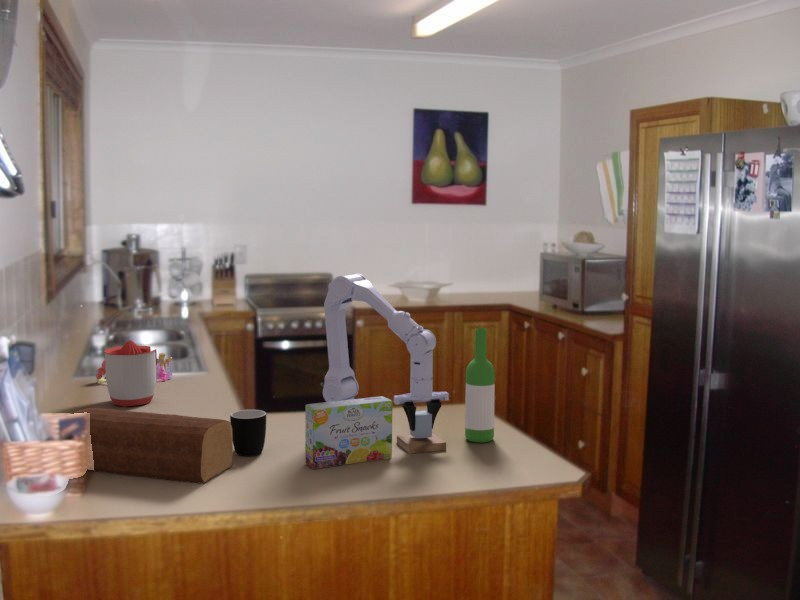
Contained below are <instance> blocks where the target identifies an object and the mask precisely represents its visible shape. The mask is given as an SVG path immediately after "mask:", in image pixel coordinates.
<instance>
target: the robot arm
mask: <svg viewBox="0 0 800 600" xmlns="http://www.w3.org/2000/svg"><path fill="white" fill-rule="evenodd" d="M372 283H373V282H371V281H370V280H369V279H367V278H366V277H365V276H364V275H363V274H361V273H357V272H356V273H352V274H347V275H338V276H336V277H335V278H333V279H332V280H331V281H330V282H329V283H328V285H327V286H328V291H327V295H326V297H325V300H324V303H323V309H324V310H323V311H324V322H325V331H326V343H327V344H326V346H327V356H328V370H327V373H326V375H324V385H323V387H322V397H323V399H324V401H325V402H334V401H343V400H352V399H355V397H356V396H357V395H358V393H359V389H360V388H359V387H360V386H359V383H358V381H357V380H356V377H355V371H354V370H353V368H351V366H350V358H349V357H350V356H349V348H348V347H349V346H348V334H347V333H348V332H347V322H346V311H345V310H346V309H347V308H348V306H350V304H351V303H353V301H355V302H356V301H357V302H365V303H366V304H367V305H368V306H370V307H371V308H373V310H375V311H376V312H377V313H378V314H379V315H380V316H382V317H383V318H384V319H385V320H386V321H387V327H388V328H389V329H390V330H391V331H392V332H393V333H394V334H395V335H396V336H397V337H399V339H400V340H401V341H403V343H405V345H406V350H407V351H408V353H409V354H410V378H409V379H410V383H409V384H410V385H409V386H410V387H409V388H410V393H403V394H399V395H398V394H397V395H393V404H395V405H397V406H398V405H400V404H401V407H402V408H403V411H404V412H405V415H406V418H407V422H408V426H409V431H410V430H412V431H415V413H416V411H417V406H416V405H415V403H423V402H424V403H425V404H426V411H428V412H429V413H431V414H432V430H433V429H434V424H435V420H436V418H437V415H438V413H439V411H440V410H441V407H442V402H441V401H450V399H449V397H450V393H449V392H447V391H433V382H434V381H433V377H434V376H433V375H434V373H433V371H434V370H433V367H434V366H433V364H434V363H433V362H434V360H433V358H434V356H433V355H434V354H433V350H434V349H435V348H436V345H437V338H436V335H435V334H434V333H433V331H431V330H429V329H424V327H423V326H422V325H419V324H418V323H417V322H416V321H415V320H414V319H413V318H411V314H410V313H409V312H408V311H407V312H405V311H404V310H397V309H395V307H394V306H392V305H391V303H389V302H388V301H387V299H385V297H384V296H383V295H382V294H381V293H380V292H379V291H378V290H377V289H376V288H375V287H374V285H373V284H372Z"/></svg>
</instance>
